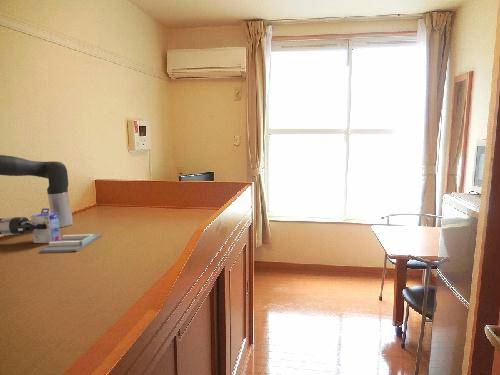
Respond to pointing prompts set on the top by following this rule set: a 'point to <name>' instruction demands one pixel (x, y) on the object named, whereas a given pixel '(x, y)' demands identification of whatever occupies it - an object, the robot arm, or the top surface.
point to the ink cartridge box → (52, 227)
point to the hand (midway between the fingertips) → (50, 224)
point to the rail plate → (70, 243)
